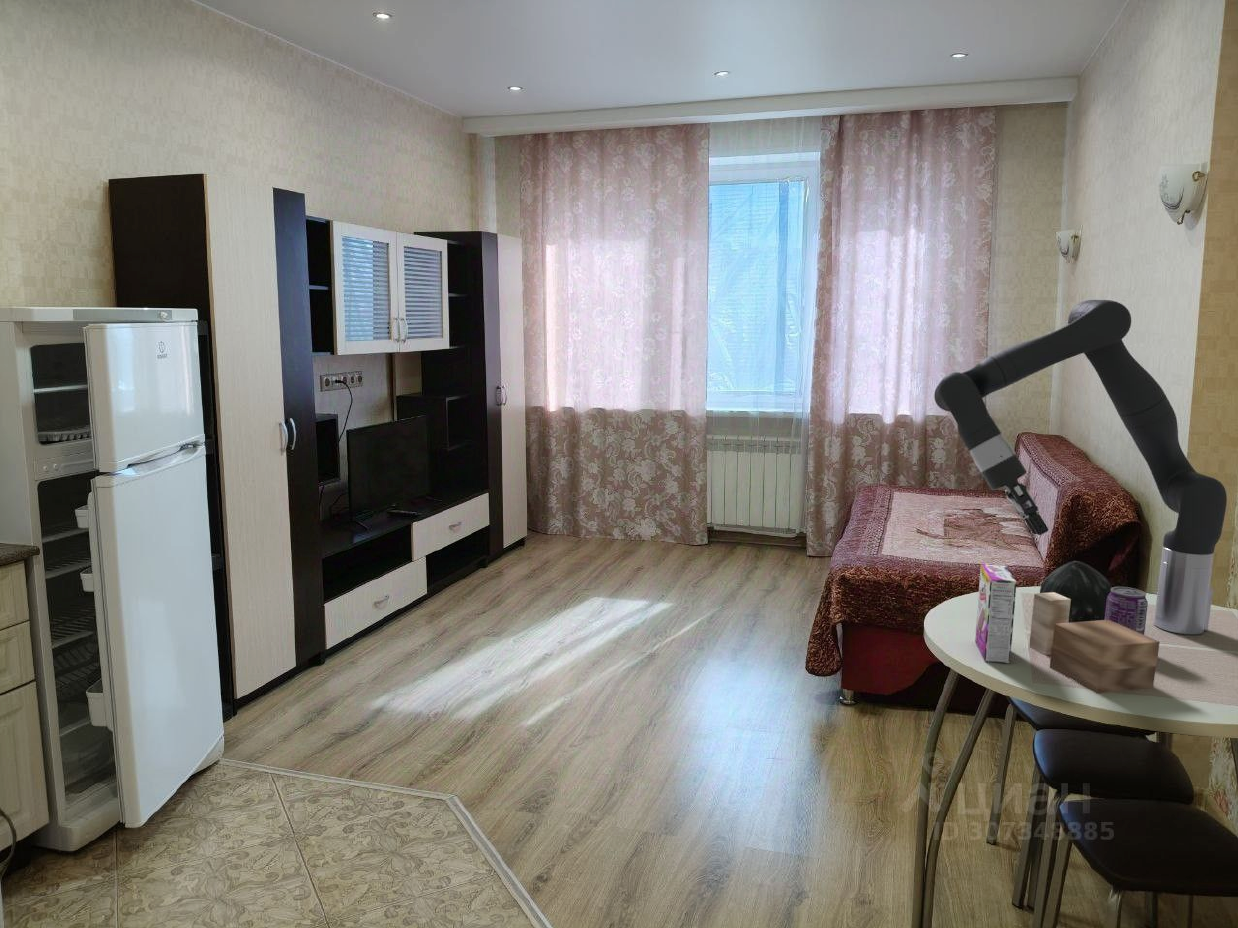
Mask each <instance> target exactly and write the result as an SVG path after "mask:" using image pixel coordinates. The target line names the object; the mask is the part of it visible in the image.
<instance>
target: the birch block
mask: <svg viewBox="0 0 1238 928" xmlns="http://www.w3.org/2000/svg"><path fill="white" fill-rule="evenodd" d="M1070 602H1071V599H1069V598H1067V597H1064V596H1062V595H1060V594H1057V593H1055V592H1050V593H1040V592H1038V593H1037V592H1036V593H1034V596H1033V602H1032V603H1033V606H1032V612H1031V613H1032V614H1031V615H1032V616H1031V624H1030V635H1029V648H1031V649H1033V650H1034V651H1036V652H1039V653H1040V654H1042V655H1044V656H1048V655H1049V656H1051V649H1052V645H1053V635H1054V626H1055V624H1057V623H1068V621H1069V611H1070Z"/></svg>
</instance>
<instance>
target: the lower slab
mask: <svg viewBox="0 0 1238 928" xmlns="http://www.w3.org/2000/svg"><path fill="white" fill-rule="evenodd" d="M1049 659H1050V660H1049V669H1051V670H1053V671H1055V672H1057V673H1059V674H1060V673H1061V674H1060V675H1062V674H1063V675H1062V676H1064V675H1065V676H1064V677H1066V678H1067V679H1070V678H1071V679H1073V680H1075V681H1077V682H1078V683H1077V682H1076V683H1077V684H1079V683H1080V684H1079V685H1081V686H1083V687H1085V688H1086V689H1088V690H1090V691H1092V692H1094V693H1096V694H1103V693H1104V694H1105V693H1112V692H1113V693H1114V692H1120V691H1121V692H1122V691H1123V692H1124V691H1131V690H1141V689H1149V688H1154V684H1155V676H1156V666H1150V667H1139V668H1128V669H1117V670H1106V671H1099V670H1097V669H1095V668H1093V667H1091V666H1089V665H1087V664H1085V663H1083V662H1081V661H1079V660H1077V659H1075V658H1073V657H1071V656H1069V655H1068V654H1066V653H1064V652H1062V651H1060V650H1058V649H1056V648H1054V647H1052V649H1051V655H1050V658H1049ZM1071 679H1070V680H1071ZM1073 680H1072V681H1073ZM1075 681H1074V682H1075Z"/></svg>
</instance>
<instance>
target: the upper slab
mask: <svg viewBox="0 0 1238 928" xmlns="http://www.w3.org/2000/svg"><path fill="white" fill-rule="evenodd" d="M1052 647H1054V648H1056V649H1058V650H1060V651H1062V652H1064V653H1066V654H1068V655H1069V656H1071V657H1073V658H1075V659H1077V660H1079V661H1081V662H1083V663H1085V664H1087V665H1089V666H1091V667H1093V668H1095V669H1097V670H1099V671H1106V670H1117V669H1128V668H1139V667H1150V666H1158V660H1159V659H1158V658H1159V650H1160V649H1159V648H1160V641H1159V640H1156V639H1155V638H1151V637H1150V636H1147V635H1145V634H1144V635H1143V634H1141V633H1138V632H1136V631H1134V630H1131V629H1129V628H1127V627H1125V626H1122V625H1120V624H1118V623H1115V622H1113V621H1111V620H1097V621H1084V622H1071V623H1057V624H1055V626H1054V635H1053V645H1052Z"/></svg>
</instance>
